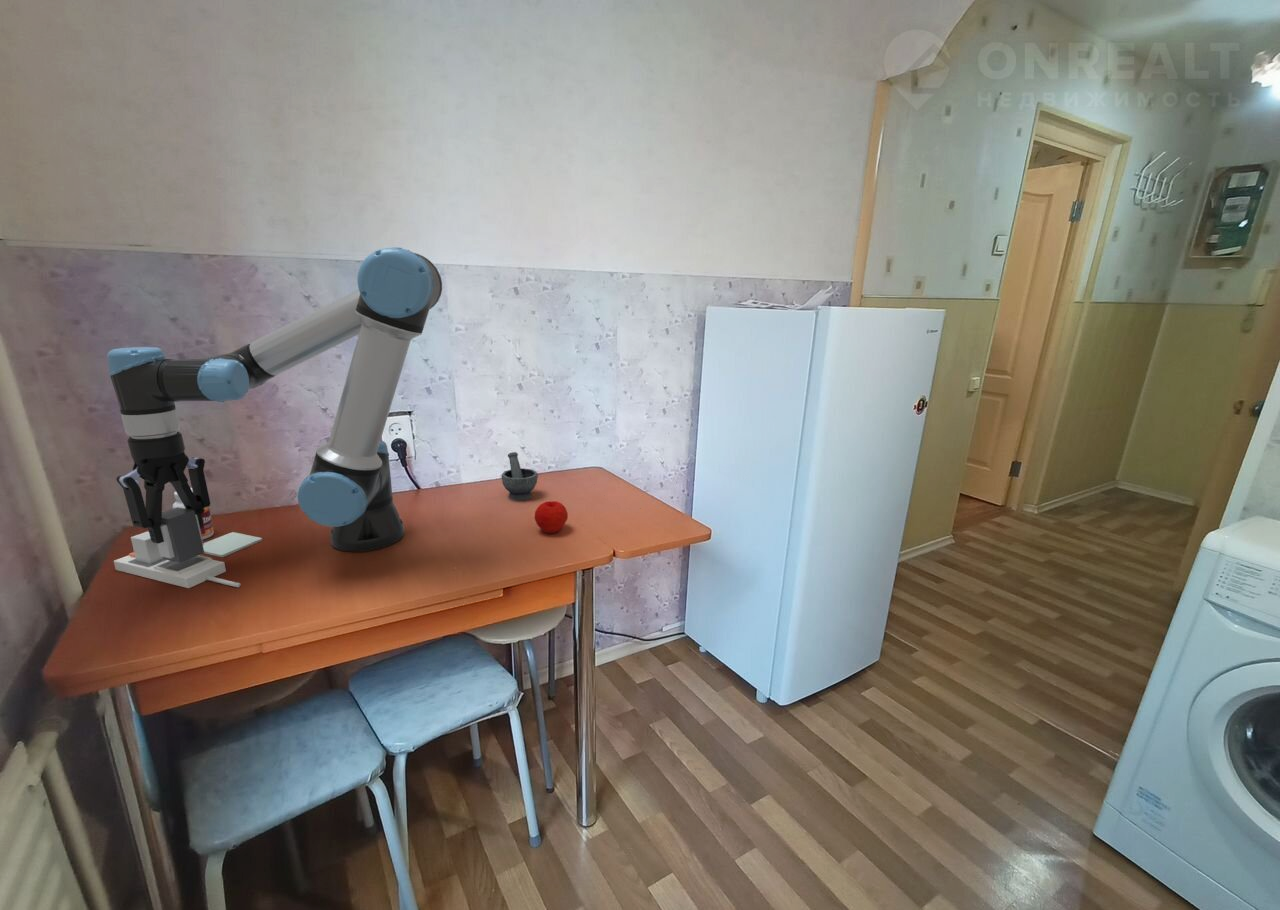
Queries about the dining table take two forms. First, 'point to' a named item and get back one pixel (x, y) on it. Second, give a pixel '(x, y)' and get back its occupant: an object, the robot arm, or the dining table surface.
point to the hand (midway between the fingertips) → (182, 550)
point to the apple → (551, 516)
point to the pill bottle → (206, 518)
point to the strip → (169, 565)
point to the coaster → (229, 544)
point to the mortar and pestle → (519, 479)
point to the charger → (183, 534)
